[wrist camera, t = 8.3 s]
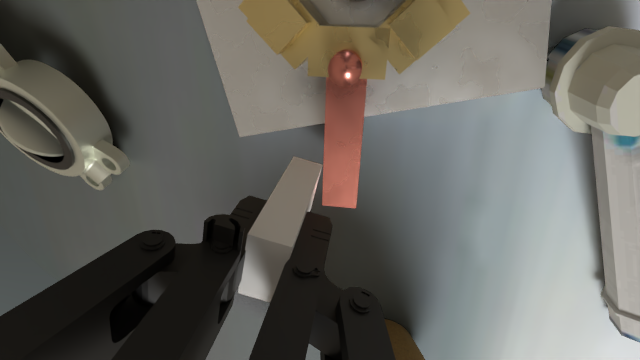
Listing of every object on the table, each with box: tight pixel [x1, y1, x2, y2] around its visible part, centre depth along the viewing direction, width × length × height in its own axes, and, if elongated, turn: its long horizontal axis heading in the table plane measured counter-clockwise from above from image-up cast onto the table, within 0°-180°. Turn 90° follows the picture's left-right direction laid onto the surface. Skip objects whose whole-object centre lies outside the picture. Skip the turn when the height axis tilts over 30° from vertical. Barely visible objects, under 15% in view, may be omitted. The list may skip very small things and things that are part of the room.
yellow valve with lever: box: [238, 0, 470, 208], centre depth 17 cm, size 20×12×5 cm, turn 179°
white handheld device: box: [541, 26, 640, 342], centre depth 23 cm, size 5×7×25 cm
